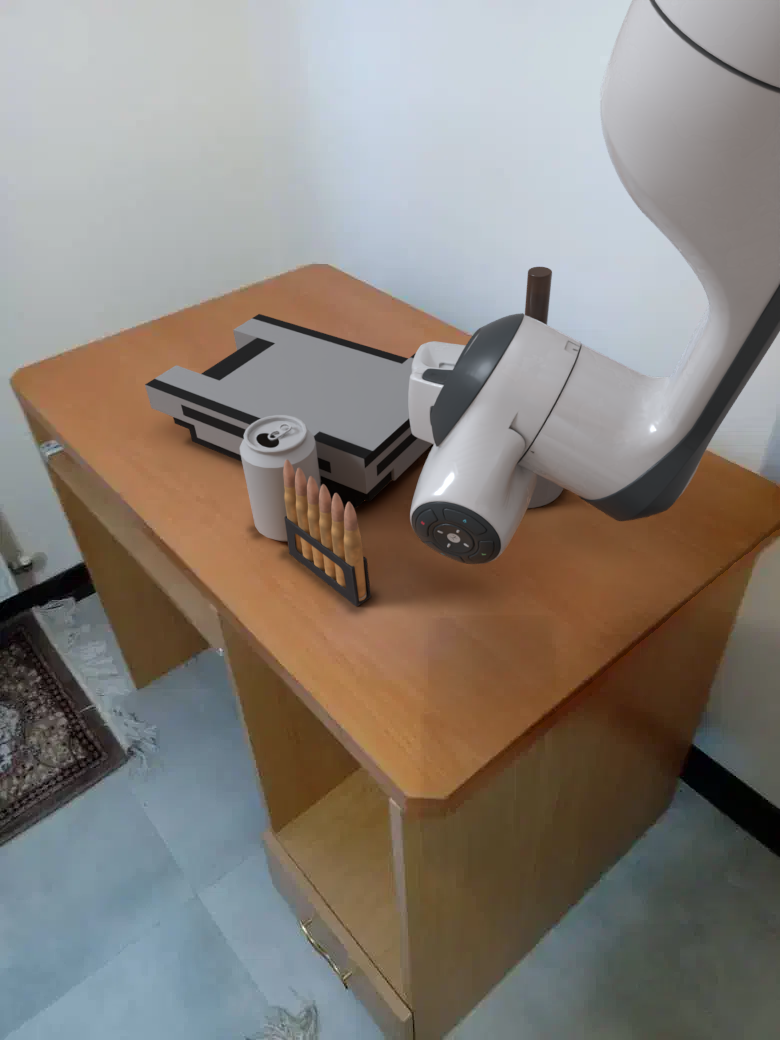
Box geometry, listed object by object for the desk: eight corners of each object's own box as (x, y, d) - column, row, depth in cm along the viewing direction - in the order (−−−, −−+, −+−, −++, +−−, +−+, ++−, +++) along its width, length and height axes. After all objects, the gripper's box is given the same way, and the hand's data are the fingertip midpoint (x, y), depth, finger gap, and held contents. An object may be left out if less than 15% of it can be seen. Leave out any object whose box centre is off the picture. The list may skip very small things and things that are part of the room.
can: (241, 521, 85) (222, 429, 77) (298, 491, 89) (285, 400, 81) (280, 557, 81) (264, 463, 73) (339, 524, 84) (329, 431, 76)
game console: (266, 359, 111) (257, 305, 106) (464, 425, 97) (466, 366, 92) (158, 432, 99) (142, 375, 93) (368, 520, 85) (363, 459, 79)
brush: (544, 427, 85) (560, 265, 73) (538, 444, 83) (554, 280, 71) (514, 422, 86) (526, 262, 74) (508, 439, 84) (519, 276, 72)
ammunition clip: (371, 597, 76) (364, 502, 68) (357, 607, 75) (347, 512, 67) (302, 544, 82) (288, 451, 74) (288, 553, 81) (272, 459, 73)
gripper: (631, 407, 64) (648, 328, 73) (392, 373, 69) (437, 303, 79) (620, 469, 68) (637, 386, 78) (395, 432, 73) (437, 359, 83)
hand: (535, 344), depth 78 cm, fingers closed on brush, 2 cm apart
